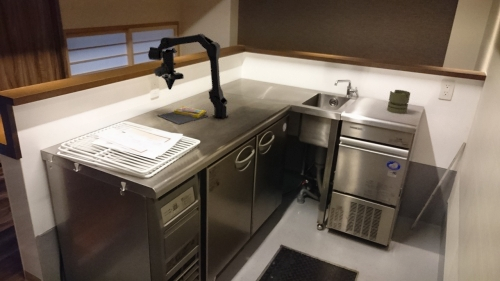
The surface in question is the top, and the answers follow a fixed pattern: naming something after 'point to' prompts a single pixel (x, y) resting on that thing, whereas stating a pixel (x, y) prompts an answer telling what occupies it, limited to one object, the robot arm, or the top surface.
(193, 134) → the top surface
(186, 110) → the candy box
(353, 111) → the top surface
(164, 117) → the mat
